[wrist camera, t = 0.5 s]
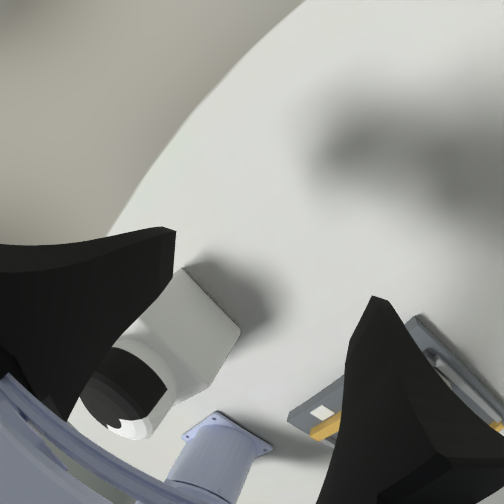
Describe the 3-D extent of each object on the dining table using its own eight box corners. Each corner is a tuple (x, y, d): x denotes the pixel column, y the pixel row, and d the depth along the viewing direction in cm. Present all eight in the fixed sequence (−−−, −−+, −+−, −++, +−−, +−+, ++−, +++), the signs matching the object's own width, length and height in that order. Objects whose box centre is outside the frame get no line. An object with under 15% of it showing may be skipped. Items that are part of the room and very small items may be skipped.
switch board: (407, 476, 26) (407, 489, 24) (289, 412, 26) (284, 429, 24) (509, 412, 19) (514, 426, 17) (414, 316, 20) (419, 332, 18)
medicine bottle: (141, 309, 27) (54, 386, 16) (182, 266, 24) (77, 350, 13) (194, 363, 27) (127, 456, 16) (244, 330, 24) (176, 444, 13)
